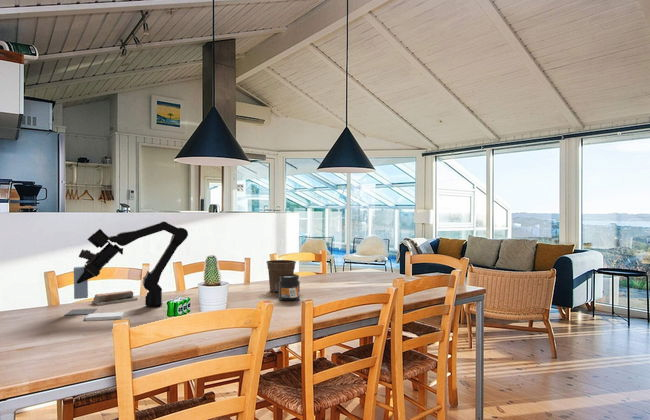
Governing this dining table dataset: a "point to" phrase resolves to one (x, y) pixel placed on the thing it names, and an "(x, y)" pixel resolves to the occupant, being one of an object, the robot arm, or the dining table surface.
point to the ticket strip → (104, 316)
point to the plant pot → (278, 271)
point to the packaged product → (113, 298)
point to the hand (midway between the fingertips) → (77, 282)
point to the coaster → (80, 312)
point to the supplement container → (289, 287)
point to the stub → (80, 284)
